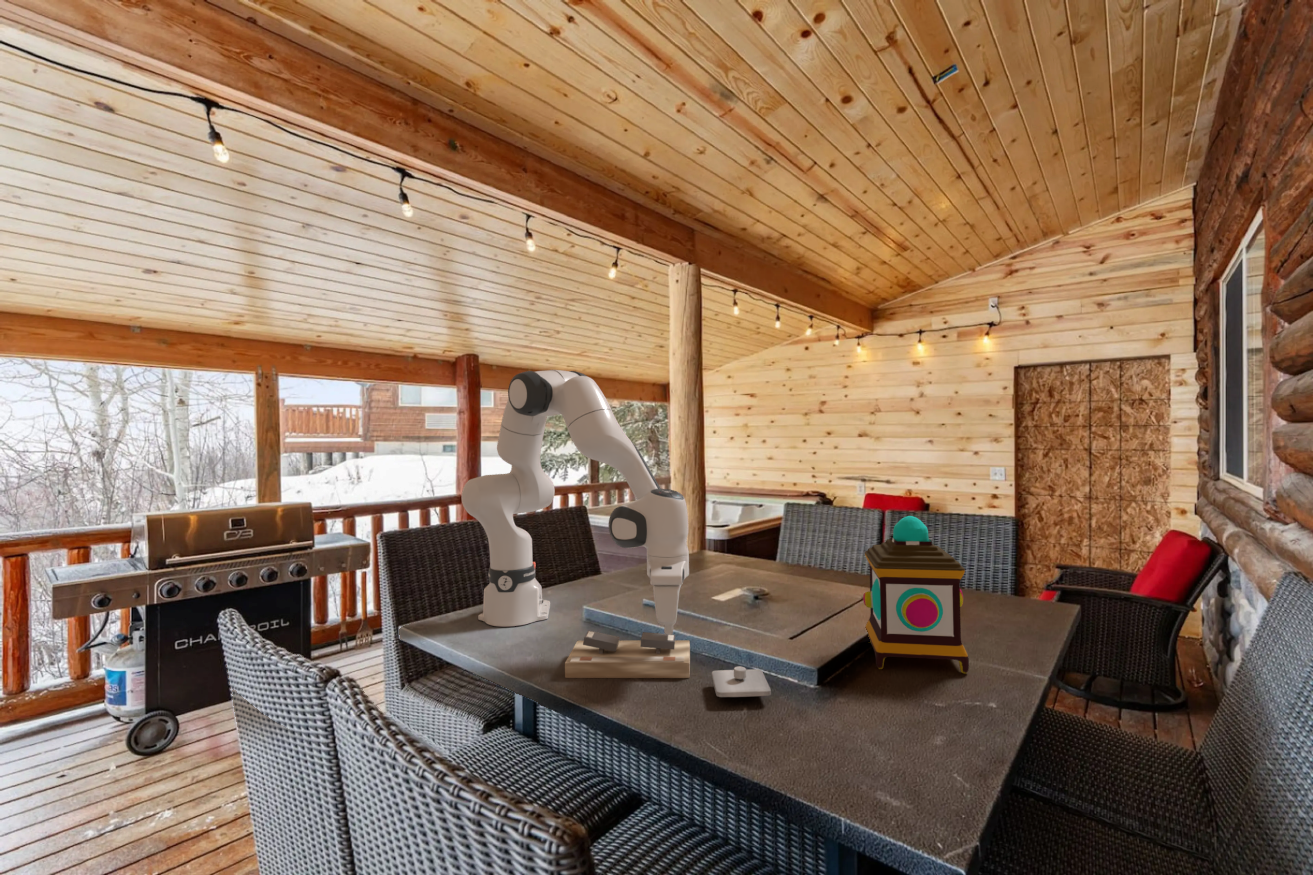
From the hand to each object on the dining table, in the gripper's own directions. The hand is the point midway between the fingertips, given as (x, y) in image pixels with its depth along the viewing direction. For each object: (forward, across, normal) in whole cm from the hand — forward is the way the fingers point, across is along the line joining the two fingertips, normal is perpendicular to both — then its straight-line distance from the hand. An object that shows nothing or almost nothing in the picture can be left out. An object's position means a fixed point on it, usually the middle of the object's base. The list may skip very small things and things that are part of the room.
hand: (668, 632), depth 127 cm
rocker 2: (+2, 0, -2) cm, 3 cm away
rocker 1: (+2, 0, -14) cm, 14 cm away
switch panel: (+7, 0, -8) cm, 11 cm away
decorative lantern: (+7, -4, +52) cm, 52 cm away
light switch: (+7, +14, +14) cm, 21 cm away
